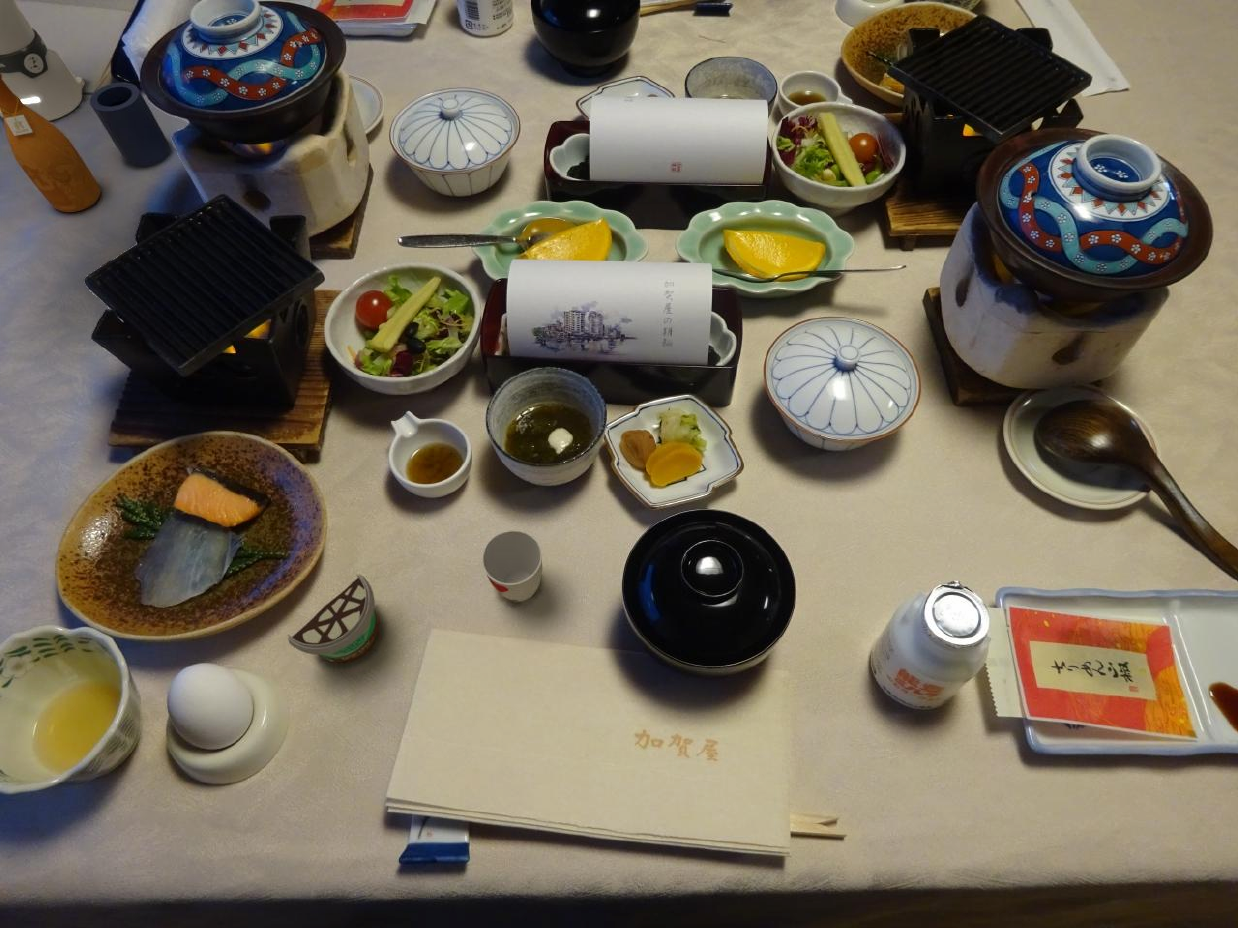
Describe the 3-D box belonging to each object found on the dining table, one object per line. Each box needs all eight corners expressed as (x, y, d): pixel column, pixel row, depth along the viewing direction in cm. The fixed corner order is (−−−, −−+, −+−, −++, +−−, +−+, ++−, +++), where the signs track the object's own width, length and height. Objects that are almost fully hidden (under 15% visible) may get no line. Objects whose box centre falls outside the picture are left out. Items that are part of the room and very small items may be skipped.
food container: (338, 691, 107) (314, 669, 98) (309, 662, 109) (284, 638, 100) (407, 625, 112) (390, 598, 103) (378, 598, 114) (359, 570, 105)
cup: (482, 575, 116) (472, 546, 107) (532, 551, 118) (525, 520, 109) (506, 621, 112) (497, 595, 104) (556, 595, 114) (552, 567, 106)
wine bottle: (40, 209, 156) (-72, 65, 131) (72, 178, 161) (-30, 33, 135) (83, 220, 155) (-22, 76, 129) (114, 188, 160) (18, 43, 134)
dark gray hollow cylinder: (115, 157, 164) (79, 101, 153) (150, 134, 169) (117, 77, 158) (145, 173, 162) (111, 116, 151) (180, 149, 166) (149, 92, 155)
